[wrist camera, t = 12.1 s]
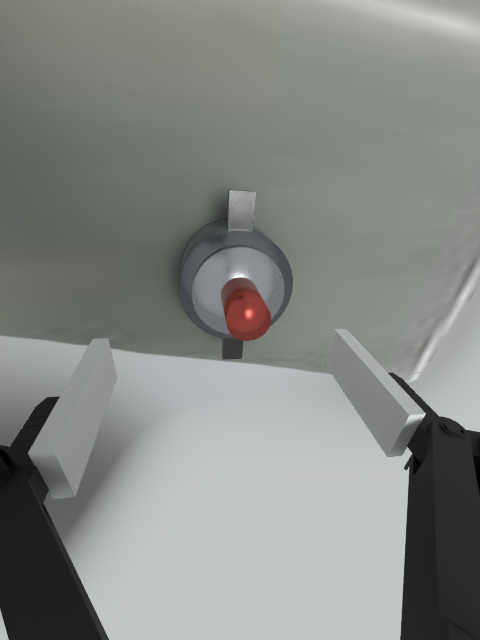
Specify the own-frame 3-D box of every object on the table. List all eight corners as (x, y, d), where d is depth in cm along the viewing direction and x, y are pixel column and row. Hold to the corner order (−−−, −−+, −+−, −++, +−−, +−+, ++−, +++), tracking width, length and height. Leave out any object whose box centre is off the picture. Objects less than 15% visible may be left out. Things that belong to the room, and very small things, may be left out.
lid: (193, 241, 29) (193, 262, 22) (288, 248, 31) (315, 270, 24) (190, 327, 34) (190, 367, 27) (272, 329, 36) (291, 366, 30)
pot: (178, 183, 34) (174, 187, 26) (283, 190, 37) (308, 195, 29) (184, 330, 45) (182, 364, 37) (265, 329, 47) (280, 360, 39)
